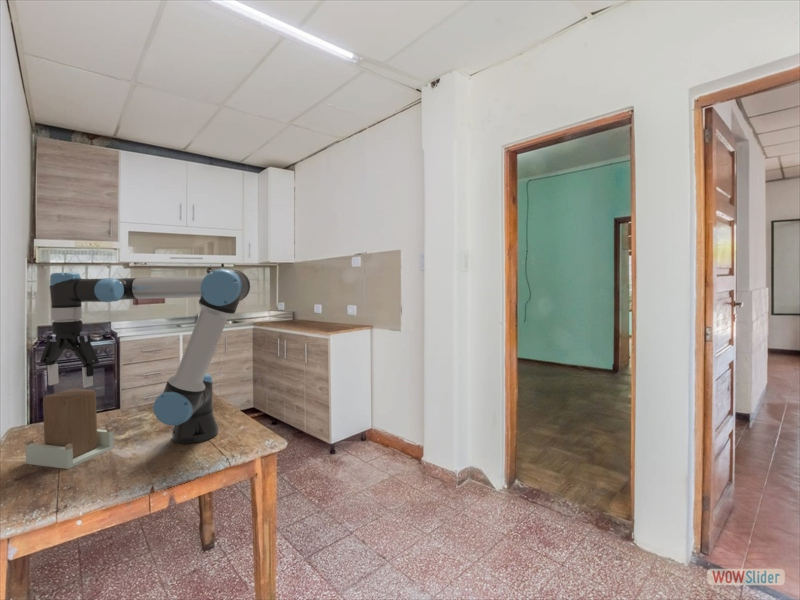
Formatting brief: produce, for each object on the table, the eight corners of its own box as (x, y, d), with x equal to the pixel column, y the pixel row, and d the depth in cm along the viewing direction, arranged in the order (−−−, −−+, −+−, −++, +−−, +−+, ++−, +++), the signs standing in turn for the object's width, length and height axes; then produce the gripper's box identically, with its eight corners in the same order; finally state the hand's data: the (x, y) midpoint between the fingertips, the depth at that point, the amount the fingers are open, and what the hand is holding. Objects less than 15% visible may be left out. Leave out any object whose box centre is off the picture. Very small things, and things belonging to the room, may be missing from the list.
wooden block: (69, 460, 124) (67, 398, 123) (43, 457, 126) (41, 396, 125) (99, 447, 134) (97, 389, 133) (74, 444, 136) (72, 387, 135)
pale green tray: (113, 447, 137) (113, 427, 136) (68, 469, 121) (67, 446, 121) (75, 443, 140) (74, 423, 139) (26, 463, 124) (25, 441, 124)
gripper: (110, 319, 129) (113, 384, 130) (48, 318, 134) (51, 380, 135) (88, 322, 122) (91, 390, 123) (23, 321, 127) (27, 386, 128)
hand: (70, 385), depth 129 cm, fingers open, 13 cm apart
